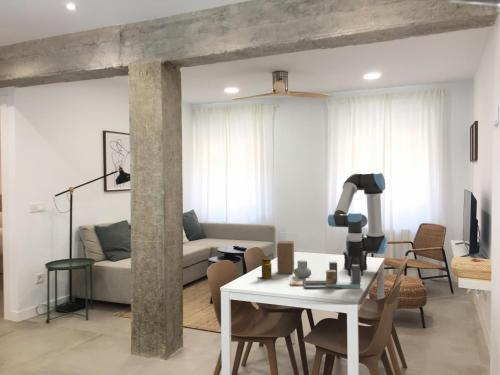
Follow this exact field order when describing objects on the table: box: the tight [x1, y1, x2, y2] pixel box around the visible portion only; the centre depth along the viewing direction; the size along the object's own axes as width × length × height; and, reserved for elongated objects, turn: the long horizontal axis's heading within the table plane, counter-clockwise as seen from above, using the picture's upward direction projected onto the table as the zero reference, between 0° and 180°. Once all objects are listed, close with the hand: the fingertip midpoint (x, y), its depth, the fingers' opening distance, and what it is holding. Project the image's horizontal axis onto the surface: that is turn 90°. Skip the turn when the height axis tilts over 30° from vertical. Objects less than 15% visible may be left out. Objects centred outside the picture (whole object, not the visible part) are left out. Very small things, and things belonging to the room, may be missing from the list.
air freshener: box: [293, 259, 312, 279], centre depth 258 cm, size 11×8×10 cm
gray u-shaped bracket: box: [304, 261, 339, 283], centre depth 243 cm, size 18×6×12 cm, turn 86°
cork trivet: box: [290, 280, 304, 287], centre depth 240 cm, size 7×7×1 cm
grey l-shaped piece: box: [325, 265, 361, 289], centre depth 233 cm, size 18×6×12 cm, turn 86°
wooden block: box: [276, 240, 295, 275], centre depth 271 cm, size 10×10×20 cm
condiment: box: [256, 257, 275, 281], centre depth 256 cm, size 7×8×12 cm
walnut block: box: [325, 269, 336, 284], centre depth 233 cm, size 5×5×7 cm
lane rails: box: [302, 278, 342, 290], centre depth 238 cm, size 20×18×1 cm
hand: (355, 282), depth 232 cm, fingers closed on grey l-shaped piece, 4 cm apart
